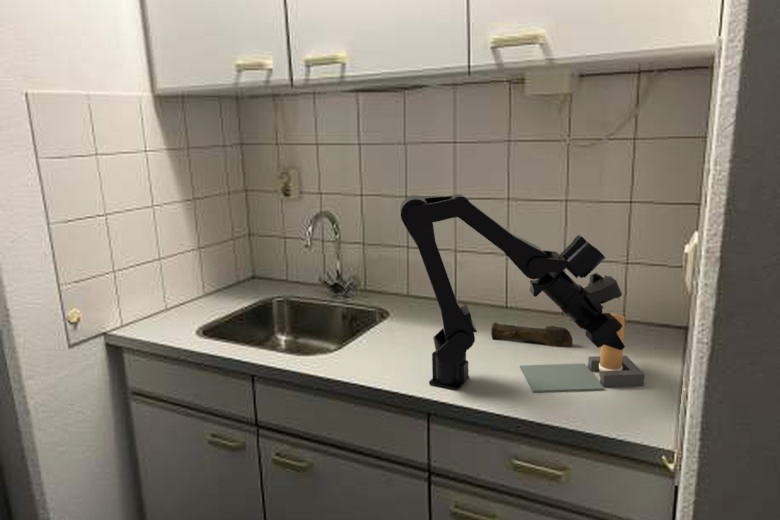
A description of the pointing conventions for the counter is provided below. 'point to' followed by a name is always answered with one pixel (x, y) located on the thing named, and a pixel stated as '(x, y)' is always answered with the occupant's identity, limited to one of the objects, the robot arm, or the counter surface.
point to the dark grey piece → (618, 373)
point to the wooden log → (533, 334)
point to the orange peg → (612, 351)
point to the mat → (560, 378)
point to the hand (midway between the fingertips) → (618, 344)
